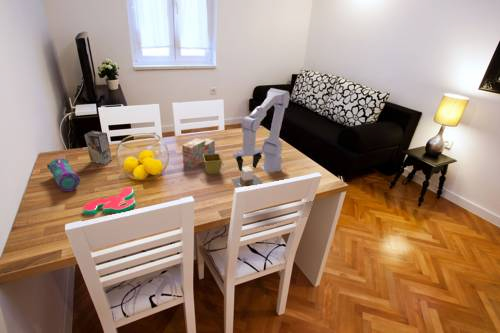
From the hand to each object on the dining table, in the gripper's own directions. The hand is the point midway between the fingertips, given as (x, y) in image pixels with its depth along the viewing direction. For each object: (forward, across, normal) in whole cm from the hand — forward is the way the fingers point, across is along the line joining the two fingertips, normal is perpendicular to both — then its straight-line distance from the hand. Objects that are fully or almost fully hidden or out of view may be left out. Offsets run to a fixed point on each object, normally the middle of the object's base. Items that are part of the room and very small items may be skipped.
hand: (247, 168), depth 134 cm
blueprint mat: (+10, -2, -1) cm, 10 cm away
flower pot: (+10, +11, -19) cm, 24 cm away
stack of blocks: (+10, +12, -36) cm, 39 cm away
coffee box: (+10, +63, -52) cm, 82 cm away
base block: (+9, 0, 0) cm, 9 cm away
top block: (+5, 0, 0) cm, 5 cm away
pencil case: (+10, +79, -34) cm, 86 cm away
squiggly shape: (+10, +61, -8) cm, 63 cm away
